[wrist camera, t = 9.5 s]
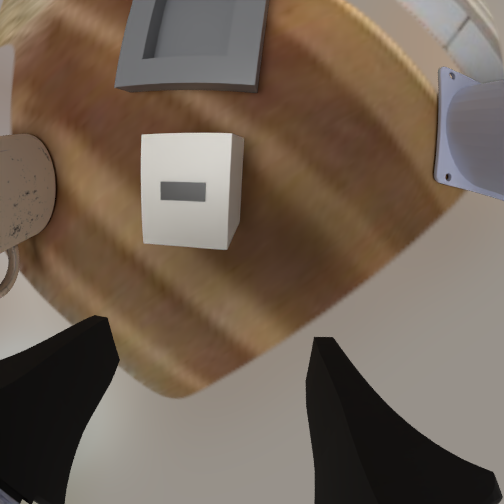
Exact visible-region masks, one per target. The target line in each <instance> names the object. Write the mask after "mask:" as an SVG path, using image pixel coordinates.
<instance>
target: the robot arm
mask: <svg viewBox="0 0 504 504" xmlns="http://www.w3.org/2000/svg"><path fill="white" fill-rule="evenodd" d="M449 74H451V75H452V79H451V77H450V75H449ZM438 86H439V112H438V136H437V150H436V161H435V170H434V178H435V180H436V181H437V182H438V183H442V184H446V185H450V186H454V187H458V188H462V189H465V190H469V191H473V192H476V193H480V194H483V195H487V196H490V197H493V198H497V199H500V200H503V201H504V80H499V81H493V82H488V83H482V84H481V83H480V82H478V81H476V80H474V79H472V78H469V77H467V76H465V75H463V74H461V73H459V72H456V71H454V70H452V69H450V68H447V67H441V68H439V70H438ZM446 174H448V179H447V180H446V178H445V176H446ZM119 361H120V359H119V356H118V353H117V350H116V346H115V343H114V340H113V336H112V333H111V329H110V325H109V322H108V318H107V317H101V316H96V315H94V316H92V317H89V318H87V319H85V320H83V321H81V322H79V323H77V324H75V325H73V326H71V327H69V328H67V329H65V330H64V331H62V332H60V333H58V334H56V335H54V336H52V337H51V338H49V339H47V340H45V341H43V342H41V343H39V344H37V345H35V346H33V347H31V348H29V349H27V350H24V351H22V352H20V353H18V354H15V355H13V356H10V357H7V358H5V359H2V360H0V504H20V503H21V501H22V499H23V500H25V501H26V502H27V503H29V504H32V503H33V501H35V502H36V503H38V504H64V503H65V496H66V495H65V494H66V488H67V483H68V479H69V474H70V470H71V466H72V463H73V459H74V456H75V453H76V450H77V447H78V444H79V442H80V439H81V437H82V434H83V432H84V430H85V427H86V425H87V423H88V422H89V420H90V418H91V416H92V414H93V413H94V411H95V409H96V407H97V406H98V404H99V402H100V400H101V399H102V397H103V395H104V393H105V392H106V390H107V388H108V386H109V385H110V383H111V381H112V378H113V376H114V374H115V371H116V368H117V366H118V363H119ZM306 407H307V415H308V422H309V429H310V436H311V443H312V450H313V458H314V467H315V504H498V503H499V502H500V501H501V499H502V494H501V491H500V488H499V485H498V483H497V480H496V477H495V475H494V473H493V472H492V471H489V470H487V469H484V468H482V467H479V466H477V465H474V464H472V463H470V462H468V461H465V460H463V459H461V458H460V457H457V456H456V455H454V454H452V453H450V452H449V451H447V450H445V449H443V448H442V447H440V446H439V445H437V444H435V443H434V442H433V441H431V440H430V439H428V438H427V437H426V436H424V435H423V434H421V433H420V432H418V431H417V430H416V429H415V428H413V427H412V426H411V425H410V424H408V423H407V422H406V421H405V420H404V419H403V418H402V417H400V416H399V415H398V414H397V413H396V412H395V411H394V410H393V409H392V408H391V407H390V406H389V405H387V403H386V402H385V401H384V400H383V399H382V398H381V397H380V396H379V395H378V394H377V393H376V392H375V391H374V389H373V388H372V387H371V386H370V385H369V384H368V382H367V381H366V380H365V379H364V378H363V377H362V375H361V374H360V373H359V371H358V370H357V369H356V368H355V366H354V365H353V364H352V363H351V361H350V360H349V359H348V357H347V356H346V354H345V353H344V352H343V350H342V349H341V348H340V346H339V345H338V343H337V342H336V341H335V339H334V338H333V337H314V341H313V346H312V352H311V357H310V362H309V367H308V372H307V377H306Z"/></svg>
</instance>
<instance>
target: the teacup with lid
mask: <svg viewBox="0 0 504 504" xmlns="http://www.w3.org/2000/svg"><path fill="white" fill-rule="evenodd" d="M55 192H56V183H55V173H54V168H53V164H52V161H51V158H50V155H49V153H48V151H47V149H46V147H45V146H44V144H43V143H42V142H41V141H40V140H39V139H38V138H36V137H35V136H33V135H30V134H16V135H6V136H0V253H2V252H4V251H6V250H7V251H8V259H9V265H8V270H7V274H6V276H5V278H4V280H3V281H2V283H1V284H0V298H2V297H3V296H5V295H6V294H7V293H8V292H9V291H10V289H11V288H12V286H13V285H14V283H15V281H16V278H17V275H18V272H19V263H20V261H19V251H18V246H17V244H19V243H21V242H23V241H24V240H26V239H28V238H30V237H32V236H34V235H36V234H38V233H39V232H41V231H42V230H43V229H44V227H45V226H46V225H47V223H48V221H49V219H50V217H51V214H52V211H53V207H54V202H55Z"/></svg>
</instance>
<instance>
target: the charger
mask: <svg viewBox="0 0 504 504" xmlns="http://www.w3.org/2000/svg"><path fill="white" fill-rule="evenodd" d="M243 152H244V138H243V137H240V136H238V135H235V134H233V133H166V134H146V135H142V140H141V205H142V228H143V243H146V244H158V245H171V246H183V247H195V248H208V249H220V250H227V249H228V247H229V245H230V242H231V240H232V238H233V236H234V234H235V231H236V229H237V227H238V225H239V223H240V208H241V188H242V170H243Z"/></svg>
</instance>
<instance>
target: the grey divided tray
mask: <svg viewBox="0 0 504 504" xmlns="http://www.w3.org/2000/svg"><path fill="white" fill-rule="evenodd" d="M268 6H269V0H133V3H132V6H131V10H130V13H129V17H128V21H127V25H126V29H125V33H124V37H123V42H122V47H121V51H120V56H119V62H118V67H117V73H116V79H115V86H114V87H115V88H118V89H121V90H125V91H128V92H141V91H159V90H219V91H237V92H251V93H257V91H258V83H259V75H260V67H261V59H262V51H263V43H264V36H265V28H266V20H267V13H268Z"/></svg>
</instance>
